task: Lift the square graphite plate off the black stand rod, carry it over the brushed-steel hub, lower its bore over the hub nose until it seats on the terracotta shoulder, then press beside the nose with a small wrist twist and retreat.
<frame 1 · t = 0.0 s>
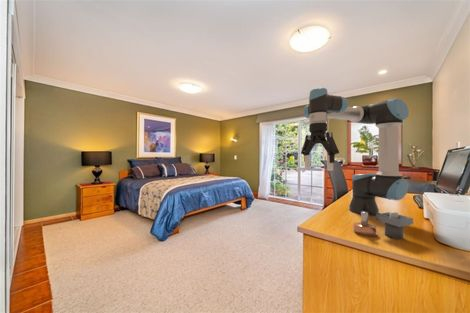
hand: (318, 169, 88), 28 cm above the table, fingers open, 13 cm apart
plate: (393, 221, 82), point 6 cm above the table, touching stand
hub: (364, 232, 85), on the table
stand: (393, 235, 82), on the table
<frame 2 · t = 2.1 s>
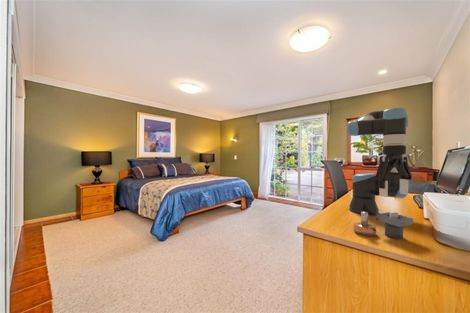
hand: (393, 195, 81), 17 cm above the table, fingers open, 13 cm apart
nothing on the table moved.
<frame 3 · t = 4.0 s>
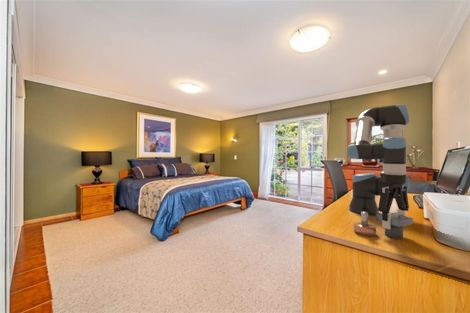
hand: (393, 226, 82), 4 cm above the table, fingers closed on plate, 9 cm apart
plate: (393, 221, 82), point 6 cm above the table, touching gripper, stand
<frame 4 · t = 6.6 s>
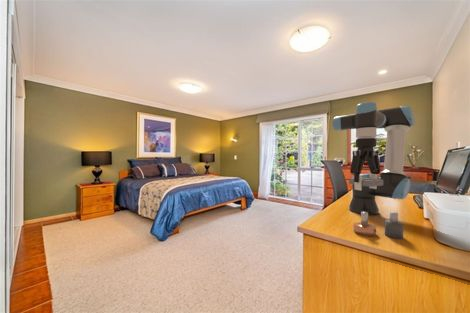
hand: (365, 189, 85), 19 cm above the table, fingers closed on plate, 9 cm apart
plate: (365, 184, 85), point 21 cm above the table, touching gripper
when the fingers open (4 cm above the table, at t = 9.3 s): plate drops 3 cm, resting on hub.
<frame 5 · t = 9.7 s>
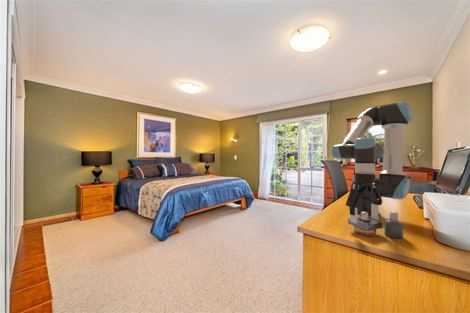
hand: (364, 220, 85), 5 cm above the table, fingers open, 13 cm apart
plate: (364, 225, 85), point 3 cm above the table, touching hub
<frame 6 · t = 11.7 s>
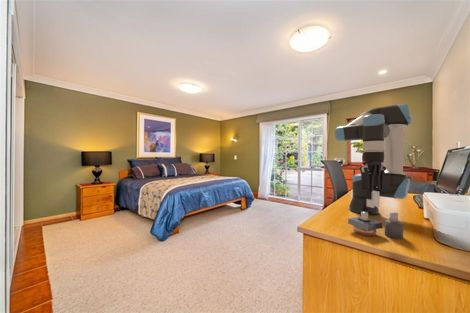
hand: (372, 206, 82), 13 cm above the table, fingers open, 3 cm apart
nothing on the table moved.
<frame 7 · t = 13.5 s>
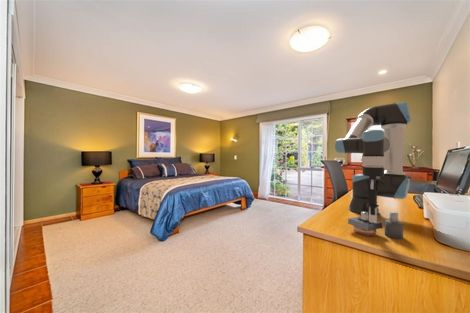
hand: (372, 221, 82), 6 cm above the table, fingers closed
nothing on the table moved.
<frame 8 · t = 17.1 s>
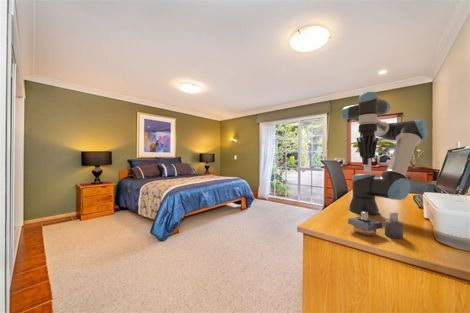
hand: (367, 171, 96), 26 cm above the table, fingers closed
nothing on the table moved.
at the end: plate 0.1 cm off-centre on the hub, point 3.0 cm above the hub's base; plate tilted 0°; the gripper is holding nothing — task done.
